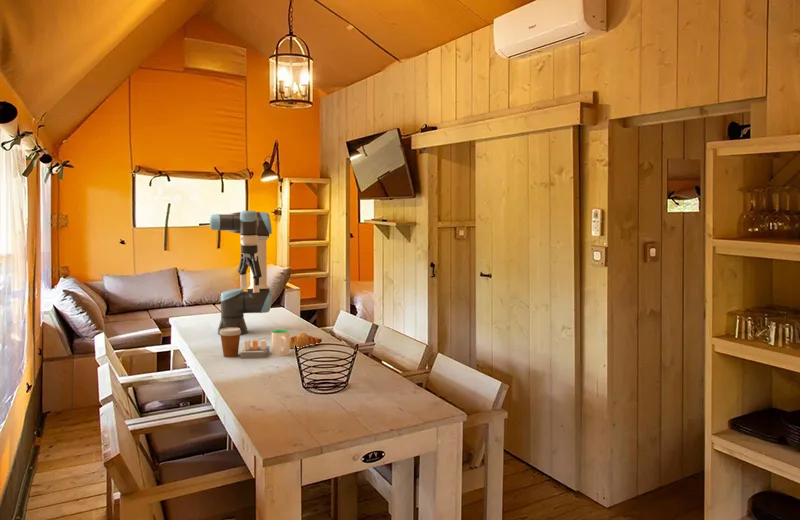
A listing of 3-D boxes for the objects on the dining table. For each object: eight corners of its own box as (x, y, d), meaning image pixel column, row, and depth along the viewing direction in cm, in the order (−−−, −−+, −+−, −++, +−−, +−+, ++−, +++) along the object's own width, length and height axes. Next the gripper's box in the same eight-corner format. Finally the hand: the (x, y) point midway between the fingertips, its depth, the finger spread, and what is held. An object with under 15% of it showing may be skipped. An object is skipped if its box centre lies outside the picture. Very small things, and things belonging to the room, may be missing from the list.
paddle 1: (245, 348, 270) (245, 339, 269) (250, 348, 270) (250, 339, 270) (244, 350, 267) (244, 341, 266) (249, 349, 267) (249, 341, 267)
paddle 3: (261, 348, 270) (261, 339, 270) (265, 348, 271) (265, 339, 270) (260, 349, 268) (260, 341, 267) (265, 349, 268) (265, 341, 267)
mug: (295, 356, 267) (295, 333, 266) (278, 358, 263) (278, 335, 262) (286, 350, 277) (285, 328, 276) (269, 352, 273) (269, 330, 272)
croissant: (279, 356, 280) (280, 343, 276) (276, 343, 288) (276, 330, 284) (323, 352, 288) (324, 339, 284) (318, 338, 296) (320, 326, 292)
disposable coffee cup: (235, 358, 262) (235, 331, 261) (215, 357, 264) (215, 330, 263) (245, 353, 272) (244, 327, 271) (226, 352, 273) (225, 326, 272)
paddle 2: (253, 348, 270) (253, 339, 270) (258, 348, 270) (258, 339, 270) (252, 349, 267) (252, 341, 267) (257, 349, 267) (257, 341, 267)
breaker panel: (245, 352, 274) (245, 346, 274) (269, 351, 275) (269, 345, 275) (240, 358, 262) (240, 352, 262) (266, 358, 264) (266, 351, 263)
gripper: (230, 243, 278) (231, 287, 280) (253, 246, 259) (253, 294, 261) (245, 242, 283) (246, 286, 285) (268, 246, 263) (269, 293, 265)
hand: (249, 290), depth 273 cm, fingers open, 13 cm apart
